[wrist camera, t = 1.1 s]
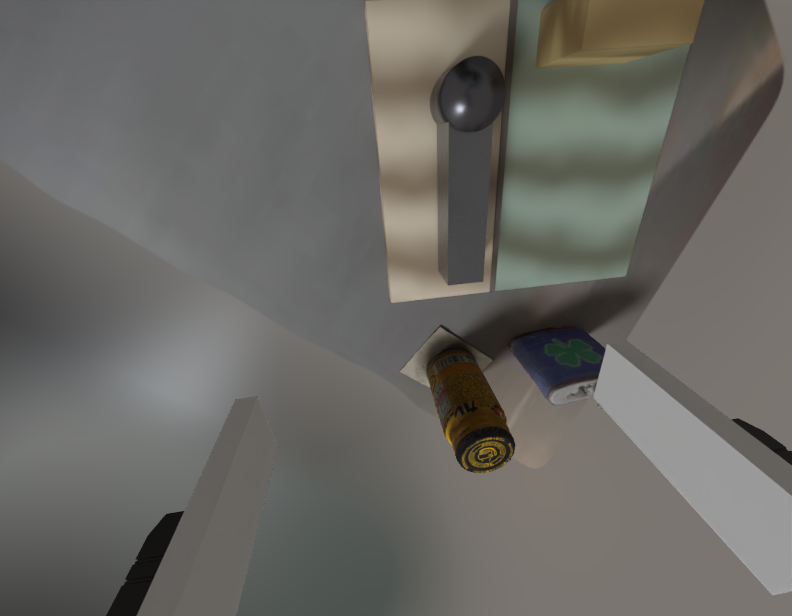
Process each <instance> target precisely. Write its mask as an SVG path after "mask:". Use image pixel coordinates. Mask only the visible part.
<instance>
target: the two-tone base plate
mask: <svg viewBox="0 0 792 616" xmlns="http://www.w3.org/2000/svg"><path fill="white" fill-rule="evenodd" d="M704 1H705V0H373V1H366V3H365V20H366V31H367V43H368V54H369V66H370V77H371V89H372V100H373V112H374V123H375V135H376V146H377V158H378V169H379V181H380V192H381V204H382V215H383V226H384V238H385V249H386V261H387V272H388V284H389V295H390V299H391V303H395V302H403V301H412V300H421V299H430V298H439V297H447V296H456V295H465V294H474V293H483V292H495V291H500V290H509V289H518V288H526V287H535V286H544V285H553V284H562V283H570V282H579V281H588V280H597V279H606V278H614V277H623V276H626V273H627V269H628V266H629V262H630V259H631V255H632V251H633V248H634V244H635V241H636V237H637V234H638V230H639V227H640V223H641V219H642V216H643V212H644V209H645V205H646V202H647V198H648V194H649V191H650V187H651V184H652V180H653V177H654V173H655V170H656V166H657V162H658V159H659V155H660V152H661V148H662V145H663V141H664V138H665V134H666V130H667V127H668V123H669V120H670V116H671V113H672V109H673V105H674V102H675V98H676V95H677V91H678V88H679V84H680V81H681V77H682V73H683V70H684V66H685V63H686V59H687V56H688V52H689V49H690V45H691V43H693V40H694V36H695V33H696V29H697V26H698V22H699V19H700V15H701V12H702V8H703V5H704ZM471 56H484V57H487V58H489V59H491V60H492V61H493V62H495V63H496V64H497V66H498V67H499V68H500V70H501V72H502V74H503V77H504V80H505V87H506V94H505V100H504V104H503V107H502V109H501V111H500V113H499V115H498V117H497V118H496V119H495V120H494V121H493V132H492V148H491V164H490V181H489V197H488V213H487V230H486V246H485V262H484V279H483V282H476V283H467V284H458V285H449V286H448V285H447V284H446V282H445V280H444V279H443V277H442V276H441V274H440V273H439V271H438V208H437V124H436V123H435V121H434V120H433V117H432V115H431V111H430V97H431V93H432V90H433V87H434V85H435V84H436V82H437V81H438V79H439V78H440V77H441V76H442V75H443V74H445V73H446V72H447V71H449V70H450V69H451V68H453V67H454V66H455V65H457V64H458V63H459V62H461V61H462V60H464V59H466V58H468V57H471Z"/></svg>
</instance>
